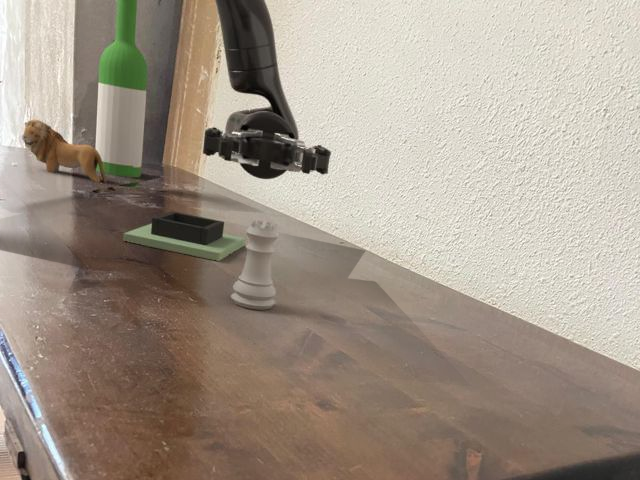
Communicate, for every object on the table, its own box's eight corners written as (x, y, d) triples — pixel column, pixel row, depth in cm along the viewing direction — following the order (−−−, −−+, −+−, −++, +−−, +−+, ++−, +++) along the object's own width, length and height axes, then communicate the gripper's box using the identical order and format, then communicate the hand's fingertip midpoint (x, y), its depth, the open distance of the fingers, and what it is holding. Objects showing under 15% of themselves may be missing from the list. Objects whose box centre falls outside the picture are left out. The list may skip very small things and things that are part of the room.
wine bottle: (86, 176, 130) (94, -20, 118) (128, 180, 135) (140, -8, 122) (104, 185, 125) (115, -19, 112) (147, 189, 129) (162, -7, 117)
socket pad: (123, 241, 90) (124, 216, 89) (159, 227, 101) (160, 205, 99) (218, 261, 89) (221, 236, 88) (244, 245, 100) (247, 223, 98)
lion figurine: (16, 179, 116) (16, 117, 112) (29, 176, 120) (30, 116, 117) (110, 196, 116) (113, 135, 112) (120, 192, 121) (123, 134, 117)
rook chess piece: (272, 300, 77) (283, 222, 74) (277, 313, 73) (289, 231, 70) (228, 295, 76) (238, 215, 73) (231, 307, 72) (242, 224, 69)
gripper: (211, 102, 91) (205, 107, 77) (325, 121, 93) (340, 130, 79) (205, 165, 94) (198, 182, 80) (315, 183, 97) (328, 203, 82)
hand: (268, 157), depth 79 cm, fingers open, 8 cm apart
